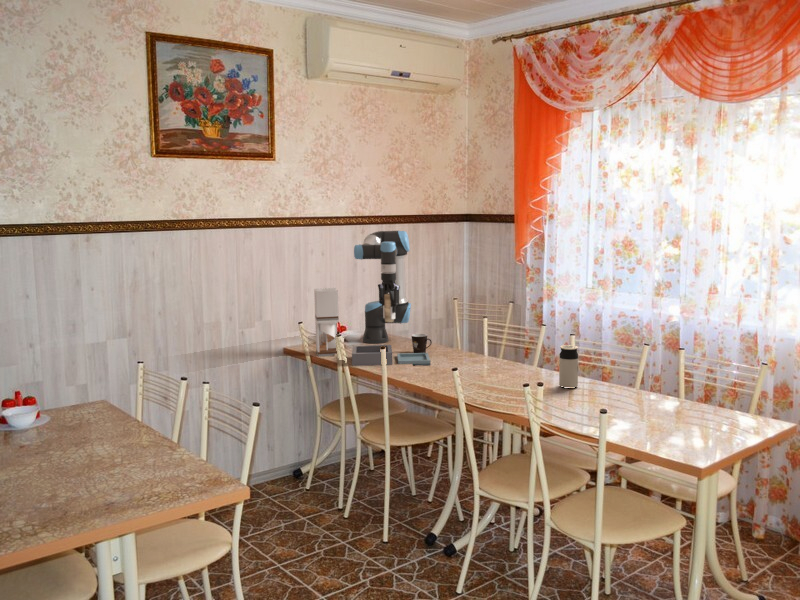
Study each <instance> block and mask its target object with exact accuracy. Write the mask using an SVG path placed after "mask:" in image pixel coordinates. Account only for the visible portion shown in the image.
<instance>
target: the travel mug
mask: <svg viewBox="0 0 800 600" xmlns="http://www.w3.org/2000/svg"><path fill="white" fill-rule="evenodd" d="M578 348H579V347H578V346H576V345H572V344H571V345H570V344H568V345H567V344H566V345H565V344H564V345H560V353H559V364H558V365H559V369H558V370H559V371H558V373H559V374H558V375H559V376H558V380H559V382H558V386H559V385H560V386H563V387H577V386H578V387H579V353H578ZM560 386H559V387H560ZM578 387H577V388H578Z"/></svg>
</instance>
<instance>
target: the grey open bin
mask: <svg viewBox="0 0 800 600" xmlns="http://www.w3.org/2000/svg"><path fill="white" fill-rule="evenodd" d="M381 346H385V347H386V359H387V365H386V366H393V349H392V348H393V347H392V344H377V345H376V344H373V345H372V344H367V345H365V344H364V345H352V351H351V365H352V367H353V366H354V367H357V366H358V367H359V366H382V365H381V352H380V347H381Z"/></svg>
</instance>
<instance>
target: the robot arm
mask: <svg viewBox="0 0 800 600" xmlns="http://www.w3.org/2000/svg"><path fill="white" fill-rule="evenodd" d="M410 250H411V248H410V239H409V235H408V233H407V231H405V230H379V231H375V232H372V233H369V234H368V235H367V236H366V237H365V238H364V239H363V243H362V244H355V245H354V247H353V257H354V259H355V260H380V272H381V273H380V279H381V283H380V284H377V287H378V300H375V301H370V302H367V303H366V304H365V305H364V317H365V318H364V321H365V322H364V327H365V328H364V332H363V335H362V342H363V343H366V344H384V343H387V342H389V335H388V332H387V329H386V324H400V325H402V324H407V323H410V317H411V310H412V309H411V307H412V304H411V302H409V299H408V298H406V260H405V259H406V256H407V255H408V253H409V252H410ZM384 294H390V300H391V306H390V316H391V319H394V322H385V302H384Z"/></svg>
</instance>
